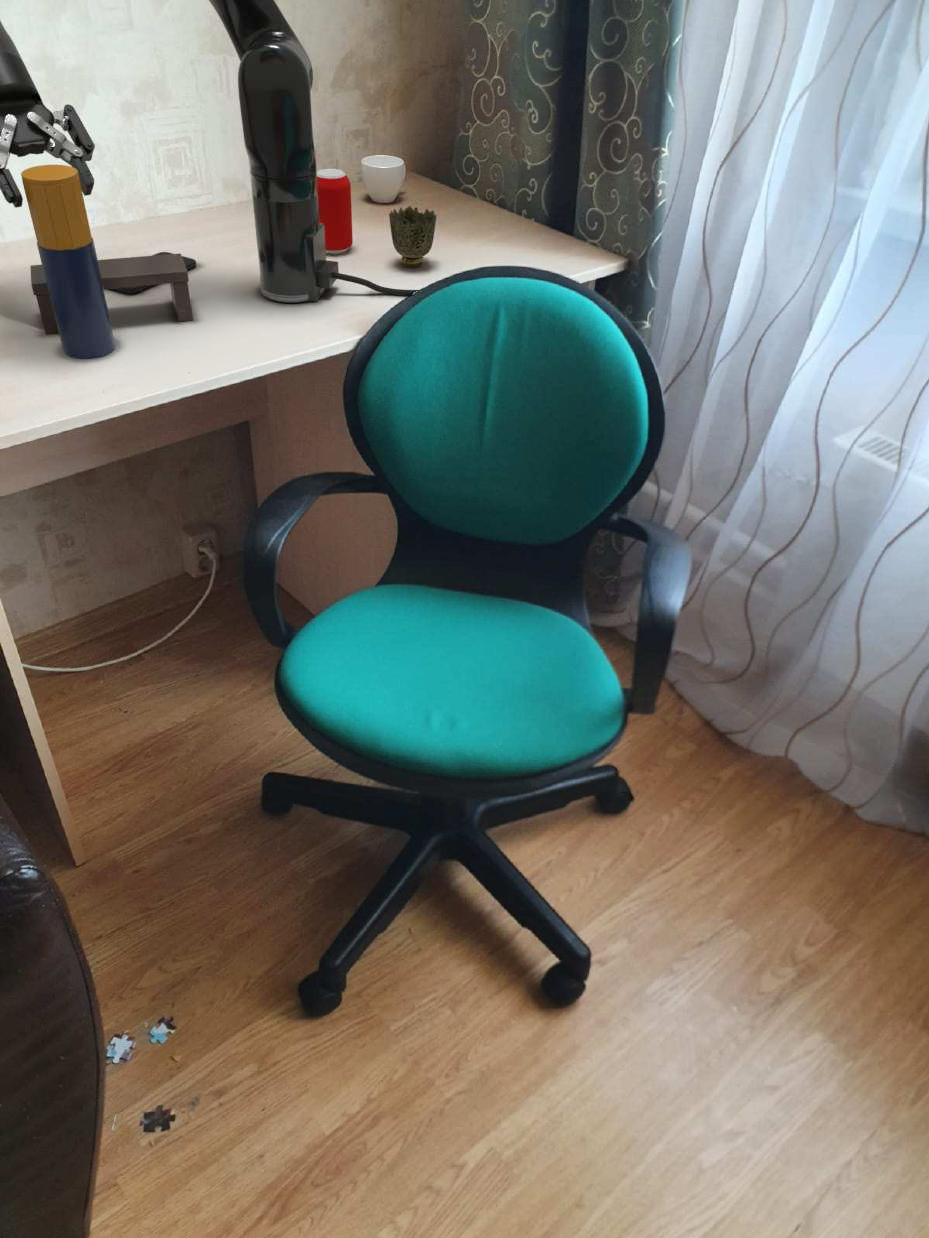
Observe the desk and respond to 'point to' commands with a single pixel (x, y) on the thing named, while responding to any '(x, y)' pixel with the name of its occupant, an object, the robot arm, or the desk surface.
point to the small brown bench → (125, 282)
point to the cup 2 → (412, 234)
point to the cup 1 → (383, 177)
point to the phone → (188, 263)
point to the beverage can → (335, 209)
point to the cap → (57, 207)
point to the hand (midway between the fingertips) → (55, 197)
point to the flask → (78, 301)
